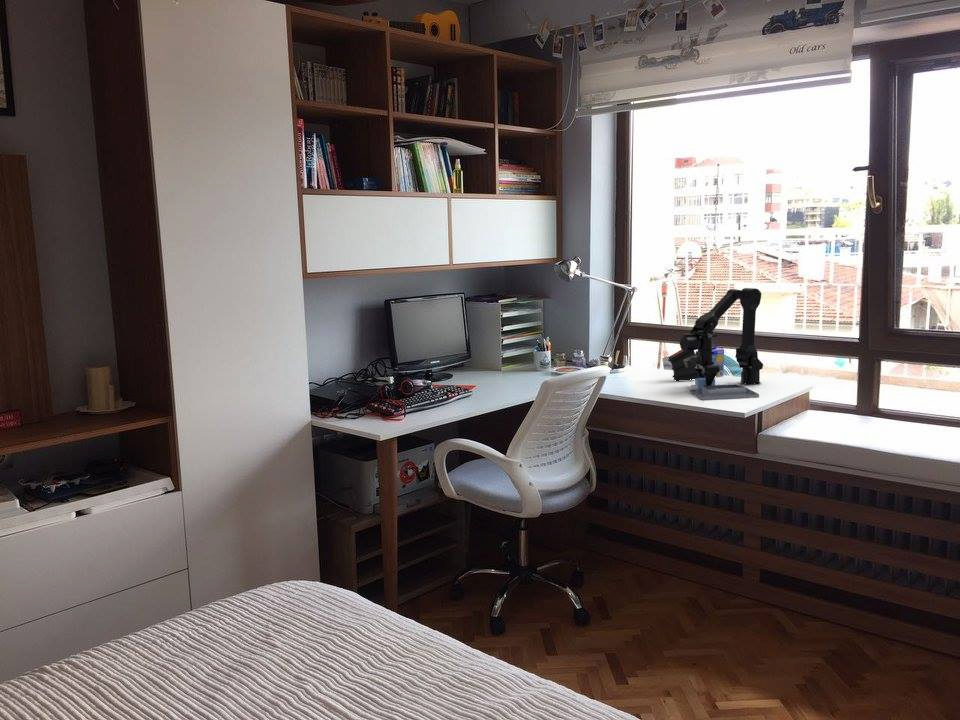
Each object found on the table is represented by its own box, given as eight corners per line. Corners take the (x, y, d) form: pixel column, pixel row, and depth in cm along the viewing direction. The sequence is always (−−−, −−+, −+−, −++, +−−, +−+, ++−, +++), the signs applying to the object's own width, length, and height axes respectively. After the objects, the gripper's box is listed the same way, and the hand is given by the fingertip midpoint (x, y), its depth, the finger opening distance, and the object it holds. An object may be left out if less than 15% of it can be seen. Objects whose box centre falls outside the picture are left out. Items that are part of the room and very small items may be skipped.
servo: (711, 388, 332) (711, 375, 331) (715, 390, 328) (715, 377, 327) (690, 389, 332) (690, 376, 331) (693, 391, 328) (693, 378, 327)
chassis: (743, 389, 327) (743, 381, 326) (759, 397, 311) (759, 388, 310) (689, 392, 326) (689, 384, 325) (702, 400, 310) (702, 392, 310)
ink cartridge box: (706, 378, 354) (705, 345, 352) (698, 376, 359) (698, 344, 357) (724, 376, 357) (724, 343, 355) (716, 374, 363) (716, 342, 360)
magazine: (707, 375, 351) (692, 345, 348) (681, 390, 350) (666, 360, 347) (703, 374, 355) (689, 344, 352) (677, 389, 354) (663, 359, 351)
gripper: (678, 347, 336) (678, 384, 339) (692, 352, 318) (692, 391, 320) (705, 345, 337) (705, 382, 339) (720, 351, 318) (720, 390, 321)
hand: (705, 386), depth 330 cm, fingers open, 7 cm apart
